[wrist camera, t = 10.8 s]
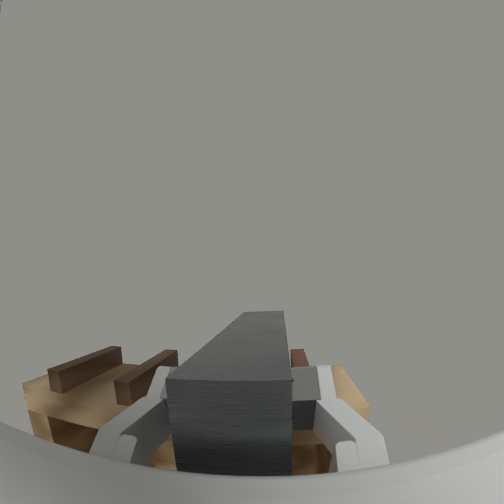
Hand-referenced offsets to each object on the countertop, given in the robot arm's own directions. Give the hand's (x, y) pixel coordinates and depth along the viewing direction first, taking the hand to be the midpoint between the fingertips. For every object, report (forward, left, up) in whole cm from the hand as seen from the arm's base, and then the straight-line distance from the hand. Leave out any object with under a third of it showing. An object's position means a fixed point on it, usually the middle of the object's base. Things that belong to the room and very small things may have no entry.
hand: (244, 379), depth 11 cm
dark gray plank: (0, +6, -2) cm, 6 cm away
